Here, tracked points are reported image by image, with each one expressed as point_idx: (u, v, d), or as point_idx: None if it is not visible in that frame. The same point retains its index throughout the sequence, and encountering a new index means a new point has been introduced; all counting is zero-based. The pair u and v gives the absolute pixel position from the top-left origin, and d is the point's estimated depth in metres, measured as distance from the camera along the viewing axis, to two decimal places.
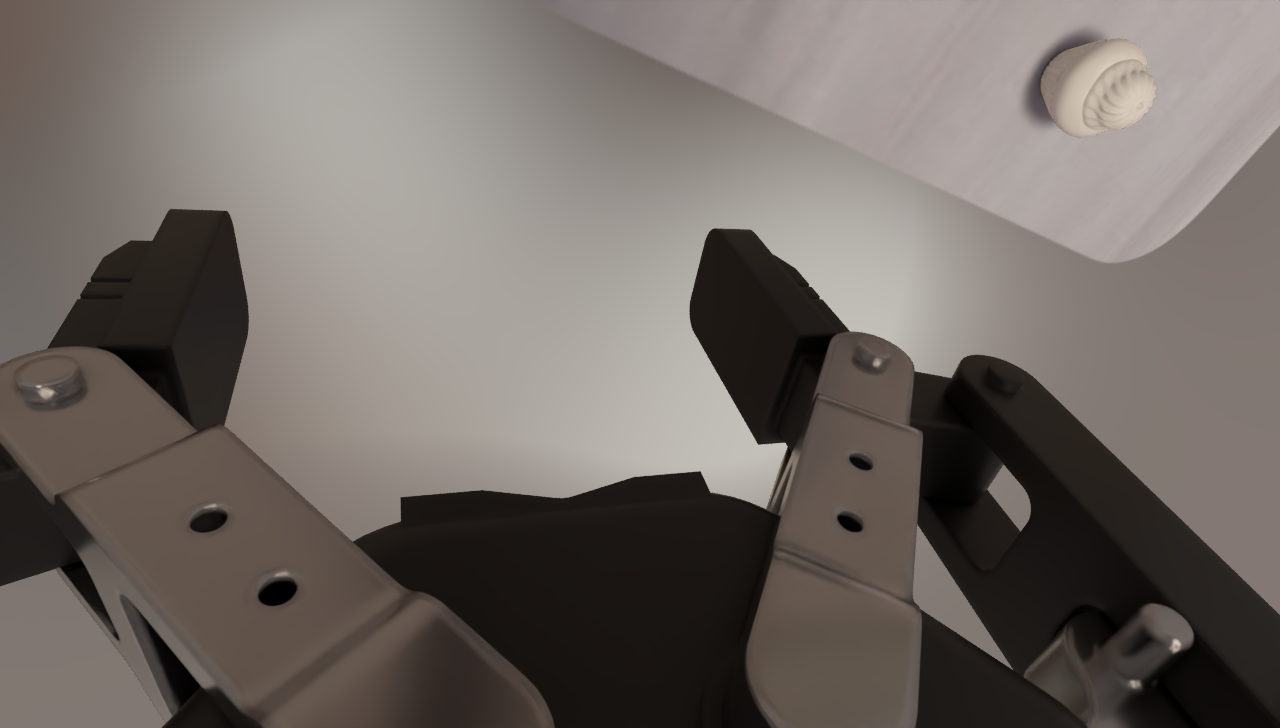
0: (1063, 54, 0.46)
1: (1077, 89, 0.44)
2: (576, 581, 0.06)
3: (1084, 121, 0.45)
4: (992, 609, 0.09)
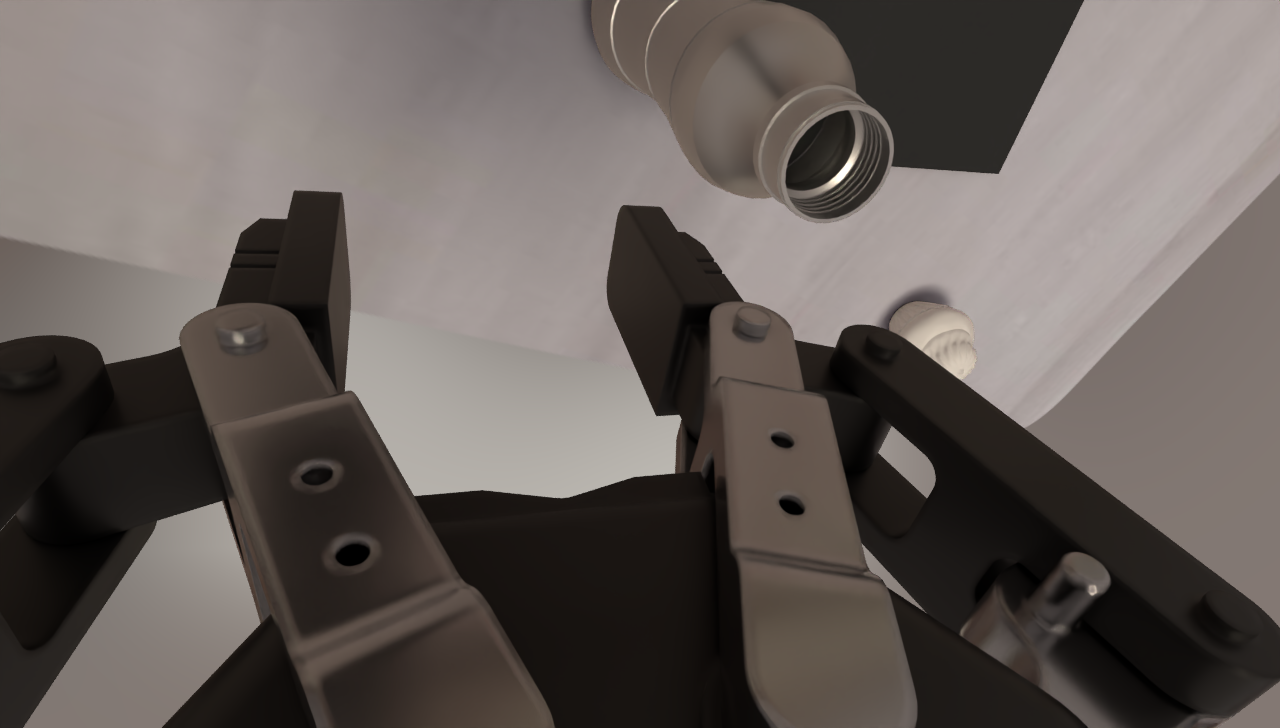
0: (904, 309, 0.52)
1: None
2: (576, 581, 0.06)
3: None
4: (910, 572, 0.09)
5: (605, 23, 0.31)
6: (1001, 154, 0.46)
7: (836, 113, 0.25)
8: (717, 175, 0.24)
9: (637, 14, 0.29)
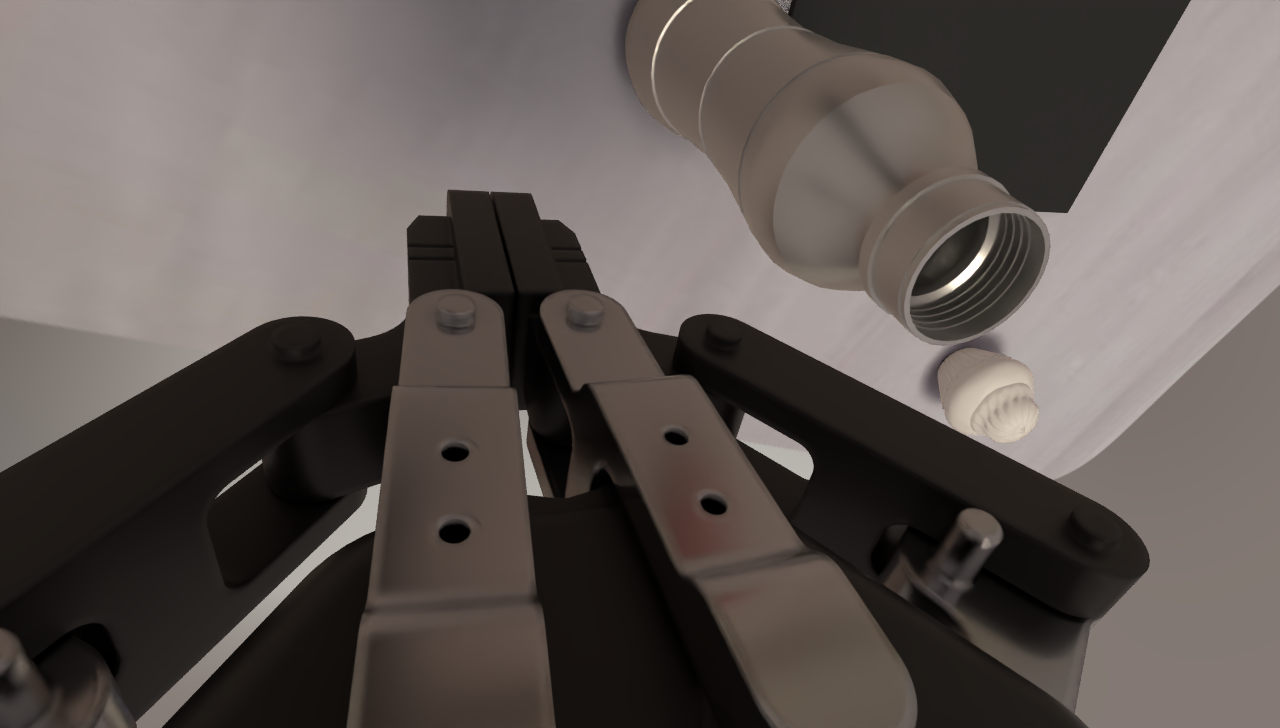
0: (956, 357, 0.48)
1: (964, 406, 0.45)
2: (576, 581, 0.06)
3: (974, 429, 0.47)
4: None
5: (645, 61, 0.26)
6: (1072, 192, 0.42)
7: None
8: (799, 268, 0.19)
9: (687, 54, 0.24)
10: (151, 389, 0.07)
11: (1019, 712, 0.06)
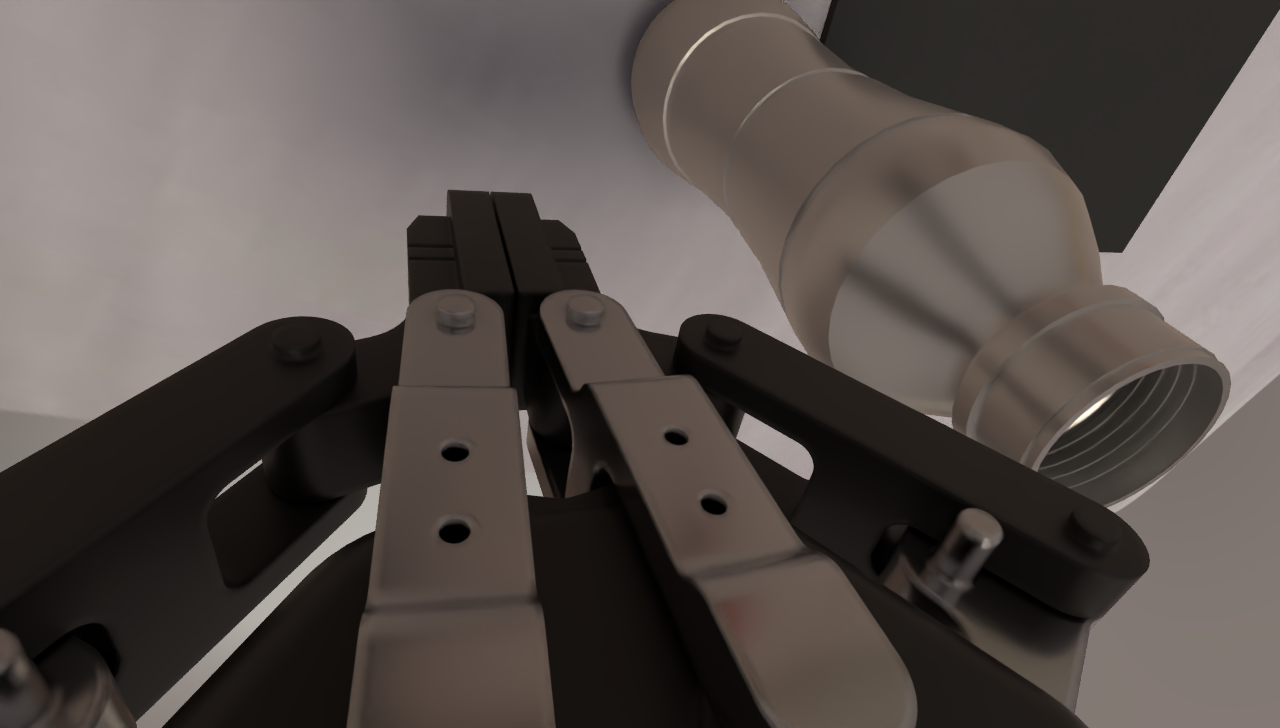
0: None
1: None
2: (576, 581, 0.06)
3: None
4: None
5: (655, 102, 0.22)
6: (1129, 230, 0.37)
7: None
8: None
9: (708, 99, 0.20)
10: (151, 389, 0.07)
11: (1020, 712, 0.06)
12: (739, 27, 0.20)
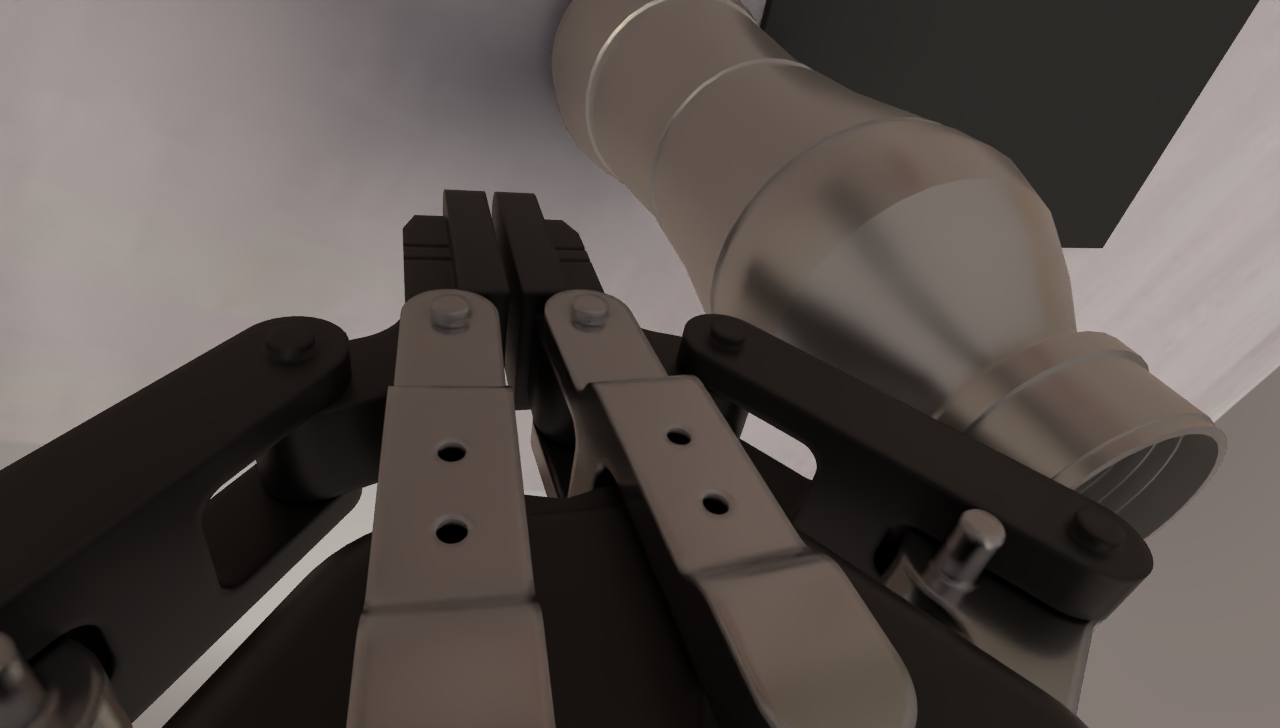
0: None
1: None
2: (576, 581, 0.06)
3: None
4: None
5: (576, 95, 0.20)
6: (1109, 224, 0.35)
7: None
8: None
9: (631, 93, 0.17)
10: (144, 390, 0.07)
11: (1020, 712, 0.06)
12: (665, 9, 0.18)
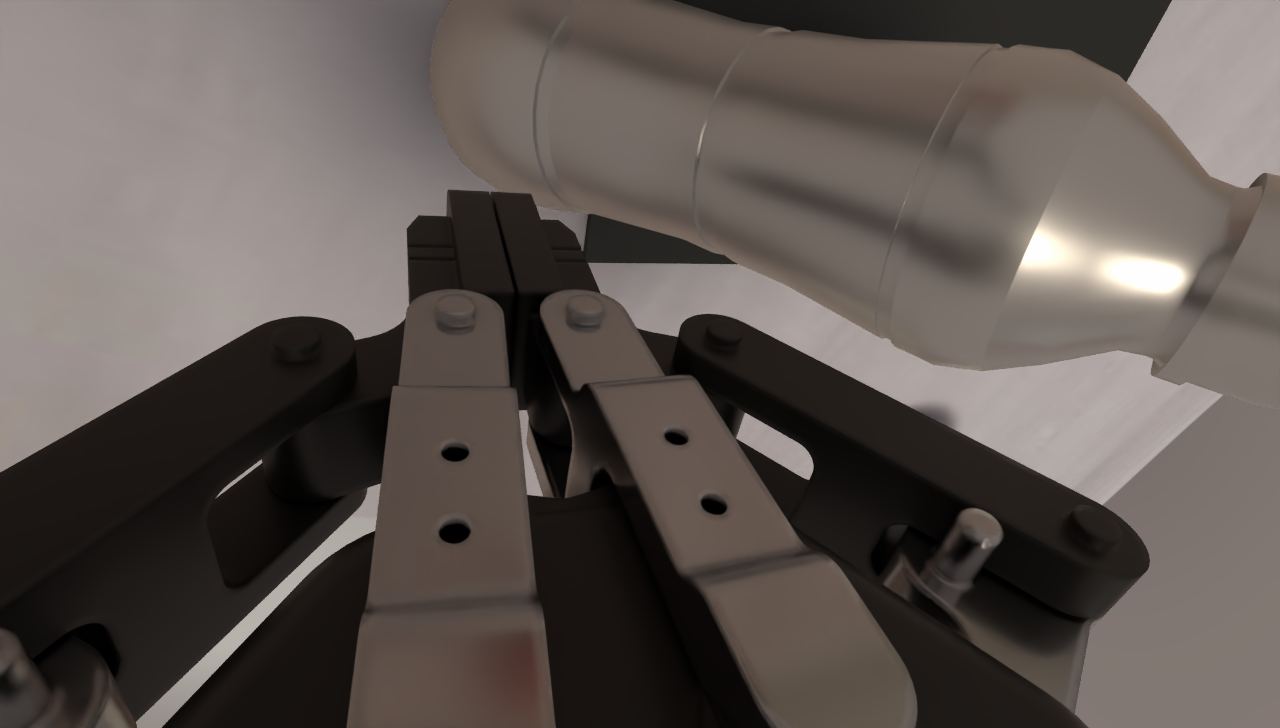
0: None
1: None
2: (576, 581, 0.06)
3: None
4: None
5: (513, 117, 0.17)
6: None
7: None
8: (1004, 361, 0.13)
9: (621, 95, 0.15)
10: (151, 389, 0.07)
11: (1020, 712, 0.06)
12: (603, 2, 0.16)
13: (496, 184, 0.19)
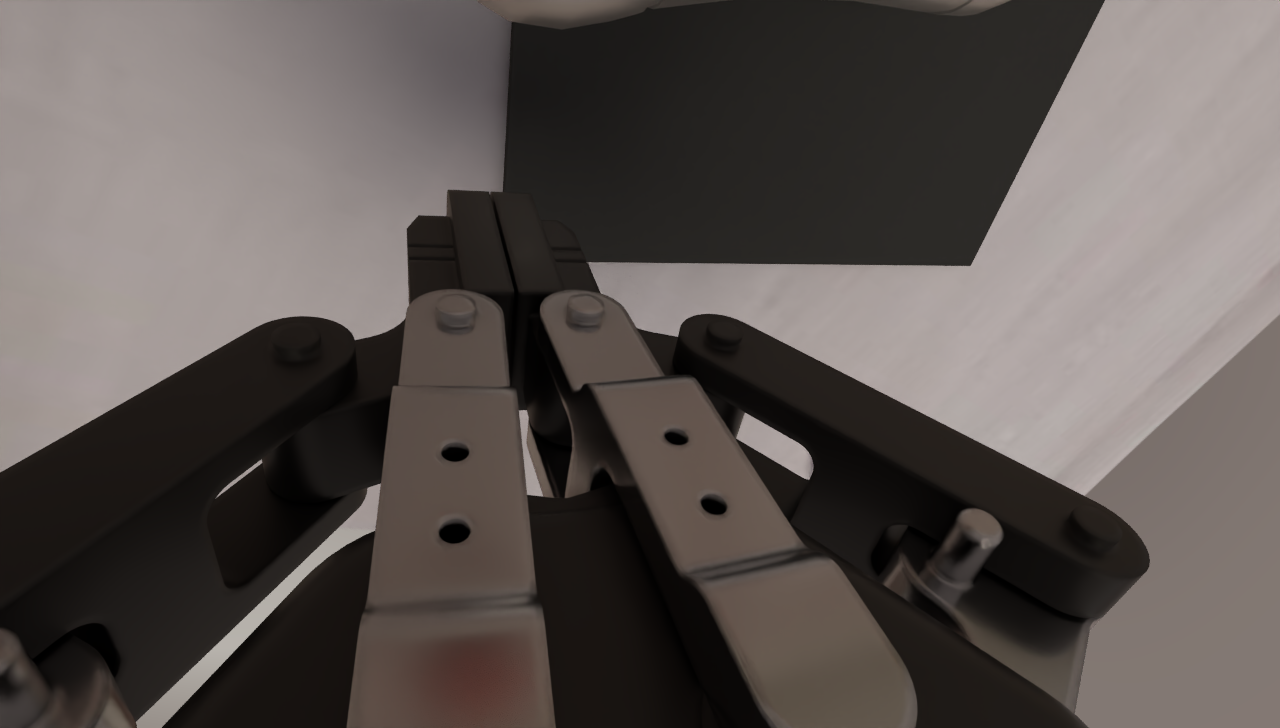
0: None
1: None
2: (576, 581, 0.06)
3: None
4: None
5: None
6: (974, 240, 0.32)
7: None
8: None
9: None
10: (150, 389, 0.07)
11: (1019, 712, 0.06)
12: None
13: None
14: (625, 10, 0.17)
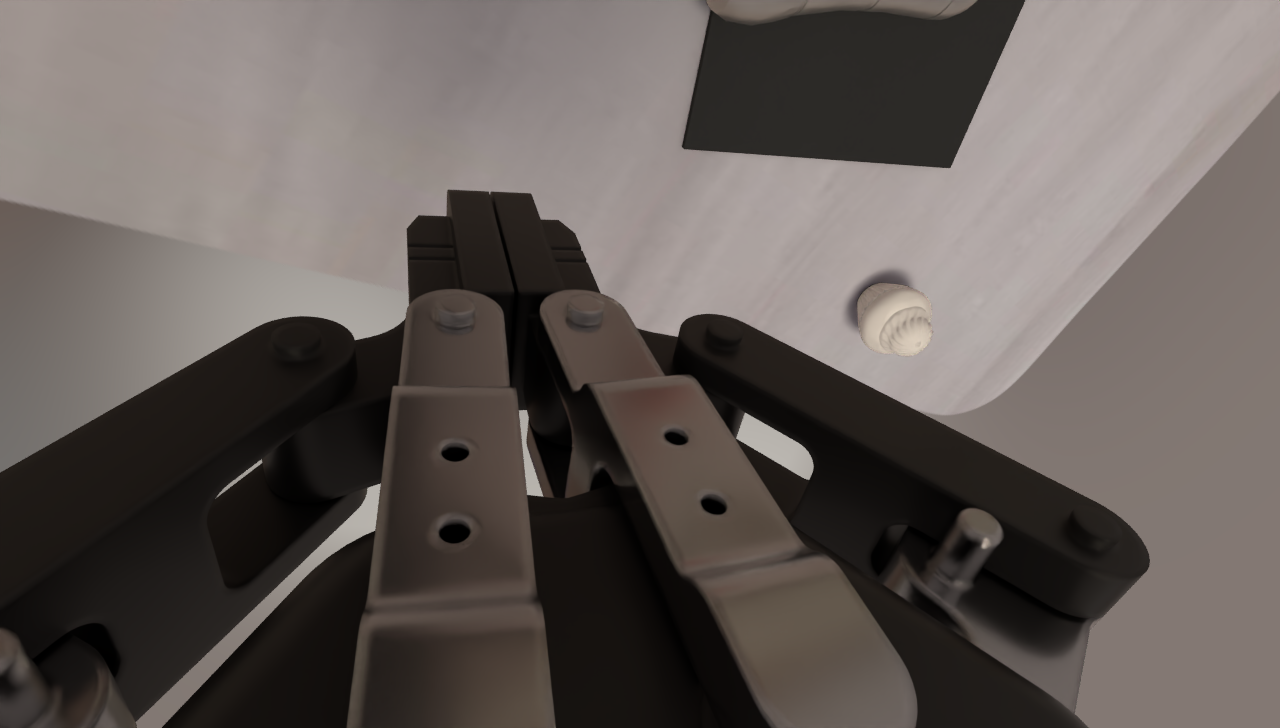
0: (870, 290, 0.59)
1: (873, 326, 0.56)
2: (576, 581, 0.06)
3: (883, 347, 0.57)
4: None
5: None
6: (952, 150, 0.53)
7: None
8: None
9: None
10: (151, 389, 0.07)
11: (1019, 712, 0.06)
12: None
13: None
14: (780, 19, 0.38)
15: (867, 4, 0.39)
